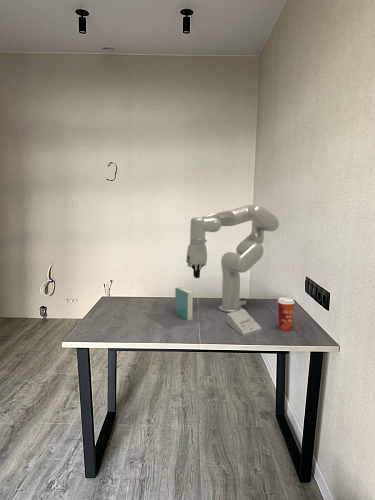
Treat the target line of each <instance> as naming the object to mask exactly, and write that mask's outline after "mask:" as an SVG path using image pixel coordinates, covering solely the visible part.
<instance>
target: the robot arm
mask: <svg viewBox="0 0 375 500" xmlns="http://www.w3.org/2000/svg"><path fill="white" fill-rule="evenodd" d="M251 221H252V222H251ZM246 222H247V223H248V222H251V232H250V233H249V235H247V237H245V238H244V239H243V240H242V241H241V242H239V244H238V245H237V246H236V249H235V252H233V251H232V252H231V251H228V252H225V253H224V254H223V255H222V257H221V261H220V263H221V264H220V265H221V271H222V283H221V284H222V287H221V290H222V291H221V295H222V296H221V305H219V306H218V309H219V311H222V312H225V313H231V312H236V311H240V310H241V309H243V307H242V306H244V305H246V304H247V301H246V300H241V299H240V294H241V275H240V274H241V273H242V274H243V273H246V272H248V271H249V270H250V269H251V268H252V267H254V265H255V264H256V263H258V262H259V261H260V260H261V259H262V257H263V255H264V247H263V243H264V240H265V233H264V232H274V231H277V229H278V228H279V226H280V221H279V219H278V217H277V216H275V215H274V214H273V213H271V212H270V211H269V210H268V209H266V208H265V207H263V206H262V205H259V204H258V205H255V204H253V205H252V204H247V205H243V206H239V207H237V208H233V209H229V210H225V211H221V212H214V213H211V214H208V215H204V216H202V217H192V218H191V219H190V229H189V230H190V231H189V232H190V233H189V234H190V236H189V244H188V246H187V249H186V250H187V251H186V259H185V260H186V261H185V262H186V264H187V267H188V268H191V269H192V270H193V271H192V273H193V278H195V279H200V276H201V270H202V268H203V267H205V266H207V262H208V251H207V245H206V243H208V242H207V241H208V240H207V239H206V233H207V232H208V233H216V232H218V231H220V230H221V227H234V226H237V225H240V224H243V223H246Z"/></svg>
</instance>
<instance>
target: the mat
mask: <svg viewBox="0 0 375 500" xmlns="http://www.w3.org/2000/svg"><path fill="white" fill-rule="evenodd" d="M146 317H148V318H149V319H151V320H153V322H155V323H156V324H158V325H160V326H162V328H165V329H170V328H174V327H180V326H185V325H191V324H195V323H201V322H206V320H204V319H203V318H201V317H198V316H197V315H195V314H193V313H192V320H186V319H184V318H182V317H180V316H178V315H177V314H175V310H172V311H167V312H159V313H153V314H148V315H147V314H146Z"/></svg>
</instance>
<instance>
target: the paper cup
mask: <svg viewBox="0 0 375 500" xmlns="http://www.w3.org/2000/svg"><path fill="white" fill-rule="evenodd" d="M277 303H278V304H277V305H278V307H277V308H278V328H279V329H280V330H282V329H283V330H284V331H289V330H290V331H291V329H292V323H293V314H294V306H295V301H294V299H293V298H290V297H279V298H278V300H277Z"/></svg>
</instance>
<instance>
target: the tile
mask: <svg viewBox="0 0 375 500" xmlns="http://www.w3.org/2000/svg"><path fill="white" fill-rule="evenodd" d="M174 291H175V294H174V295H175V297H174V298H175V300H174V301H175V302H174V303H175V306H174V307H175V310H174V311H175V314H177V315H178V316H180V317H182V318H184V319H186V320H192V314H193V303H194V302H193V299H194V297H193V294H194V292H193V291H191V290H188V289H186V288H184V287H181V286H178V287H175V290H174Z"/></svg>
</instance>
